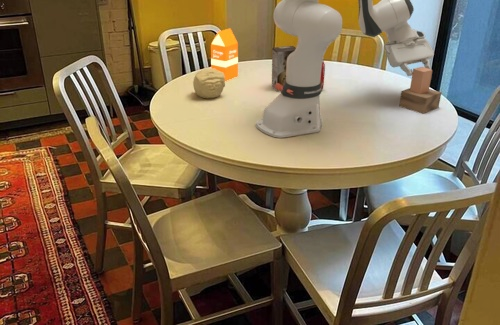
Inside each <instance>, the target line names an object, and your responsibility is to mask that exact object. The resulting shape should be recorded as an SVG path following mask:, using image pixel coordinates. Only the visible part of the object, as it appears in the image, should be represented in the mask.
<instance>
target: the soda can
mask: <svg viewBox="0 0 500 325" xmlns="http://www.w3.org/2000/svg"><path fill="white" fill-rule="evenodd" d="M325 71H326V63H325V60H324V59H323V61H322V68H321V78H320V82H321V91H322V90H323V89H324V84H325V76H326V73H325Z"/></svg>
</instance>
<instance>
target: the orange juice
mask: <svg viewBox="0 0 500 325" xmlns="http://www.w3.org/2000/svg"><path fill="white" fill-rule="evenodd" d="M238 47H239V43H238V41H237V39H236V37H235V34H234V33H233V30H232V29H231V28H227V29H223V30H219V31H217V33H216V35H215V36H214V39H212V42H211V44H210V65H211V66H210V67H211V68H210V69H213V68H215V69H216V70H218V71H221V72H223V73H224V75H225V81H226V82H228V81H230V80H229V79H231V80H233V79H235V78H234V77H236V78H238V77H239V48H238ZM237 76H238V77H237ZM232 78H233V79H232ZM227 80H228V81H227Z"/></svg>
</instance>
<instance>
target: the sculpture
mask: <svg viewBox="0 0 500 325" xmlns="http://www.w3.org/2000/svg"><path fill="white" fill-rule="evenodd" d="M192 85H193V89H194V92H195V93H196V95H197V96H199V97H200V98H203V99H215V98H217V97H219V96H220V95H221V94H222V92H223V91H224V88H225V87H226V82H225V75H224V73H223V72H221V71H218V70H216V69H215V68H213V69H211V68H203V69H200V70H199V71H197V73H196V74H195V76H194V77H193V81H192Z"/></svg>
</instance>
